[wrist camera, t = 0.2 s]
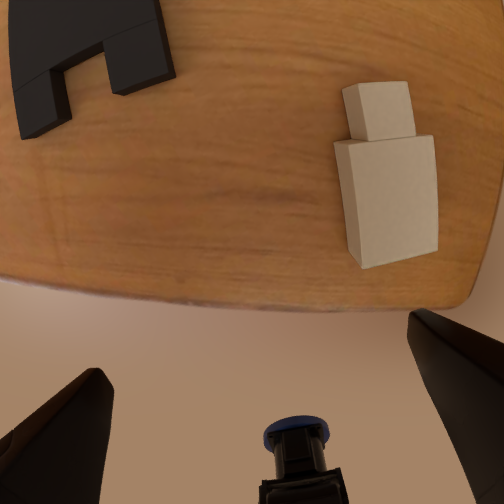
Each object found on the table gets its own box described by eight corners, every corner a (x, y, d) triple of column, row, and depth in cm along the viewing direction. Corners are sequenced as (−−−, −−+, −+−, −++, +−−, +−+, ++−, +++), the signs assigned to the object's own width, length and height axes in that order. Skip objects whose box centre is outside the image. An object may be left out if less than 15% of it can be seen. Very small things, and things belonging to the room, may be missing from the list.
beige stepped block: (417, 235, 22) (438, 250, 19) (348, 251, 22) (362, 270, 19) (401, 85, 17) (424, 80, 14) (322, 91, 18) (336, 85, 15)
